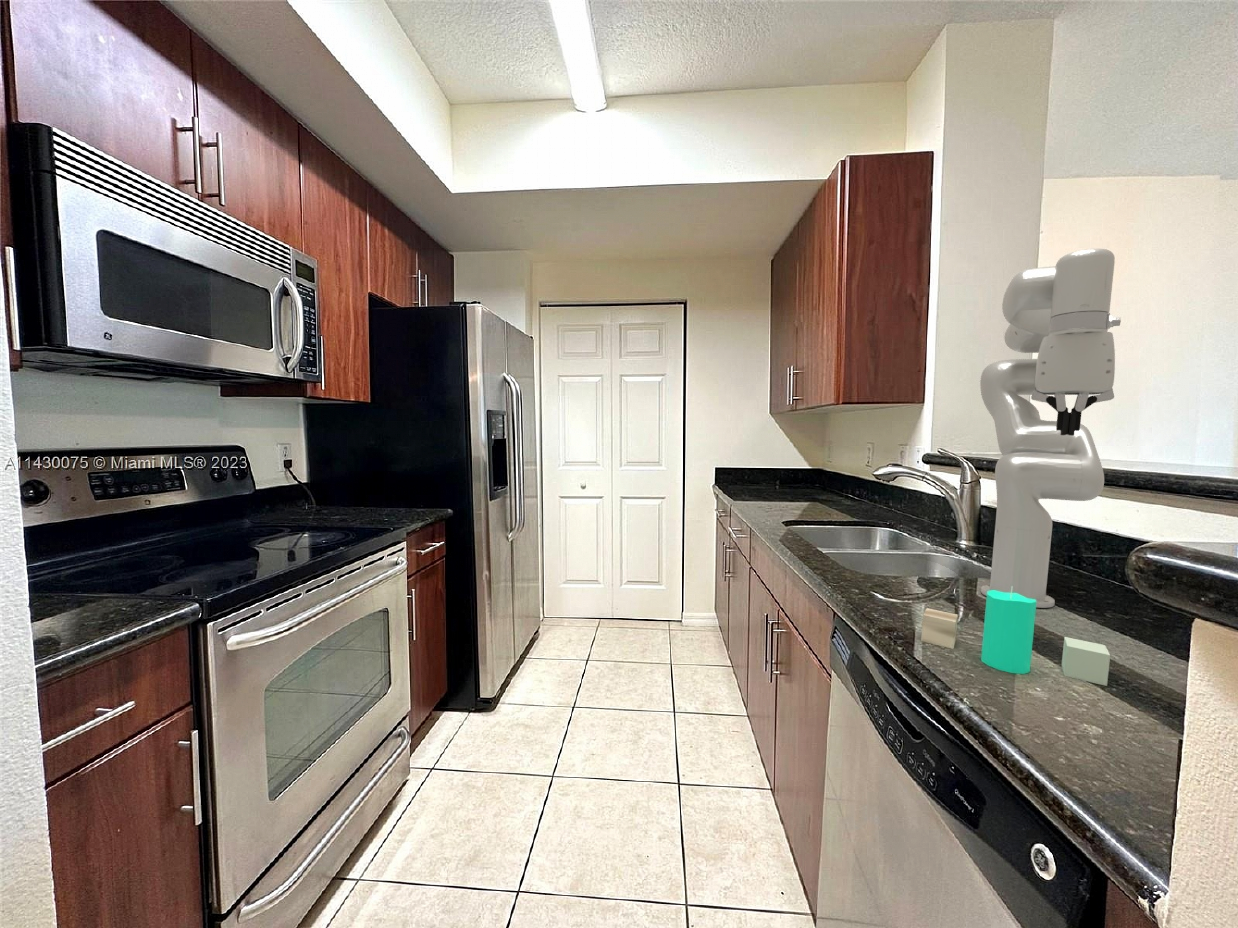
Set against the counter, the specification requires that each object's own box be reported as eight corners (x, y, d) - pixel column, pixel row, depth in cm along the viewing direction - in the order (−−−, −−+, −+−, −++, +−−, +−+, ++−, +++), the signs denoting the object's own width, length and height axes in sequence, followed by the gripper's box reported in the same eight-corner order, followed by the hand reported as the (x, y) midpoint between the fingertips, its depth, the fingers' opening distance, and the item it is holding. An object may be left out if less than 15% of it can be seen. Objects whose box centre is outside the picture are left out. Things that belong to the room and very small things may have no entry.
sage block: (1061, 665, 78) (1064, 636, 77) (1101, 675, 75) (1105, 645, 75) (1064, 676, 74) (1067, 645, 74) (1106, 686, 71) (1110, 655, 71)
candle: (1037, 677, 73) (1045, 594, 72) (987, 668, 75) (994, 588, 75) (1021, 660, 79) (1028, 583, 78) (975, 652, 81) (981, 578, 80)
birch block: (924, 633, 88) (926, 608, 88) (955, 641, 86) (957, 614, 85) (920, 641, 85) (923, 614, 85) (953, 649, 82) (955, 621, 82)
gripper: (1134, 327, 86) (1123, 437, 87) (1021, 334, 95) (1012, 434, 96) (1144, 318, 80) (1132, 436, 81) (1022, 327, 89) (1013, 433, 90)
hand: (1067, 434), depth 89 cm, fingers closed
